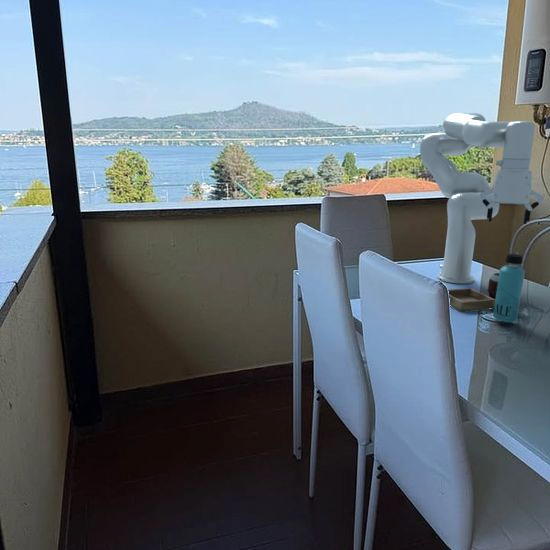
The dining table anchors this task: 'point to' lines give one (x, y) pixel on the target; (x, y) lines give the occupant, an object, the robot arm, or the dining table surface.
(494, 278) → the mate gourd
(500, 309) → the beverage bottle
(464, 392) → the dining table surface
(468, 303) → the tray
